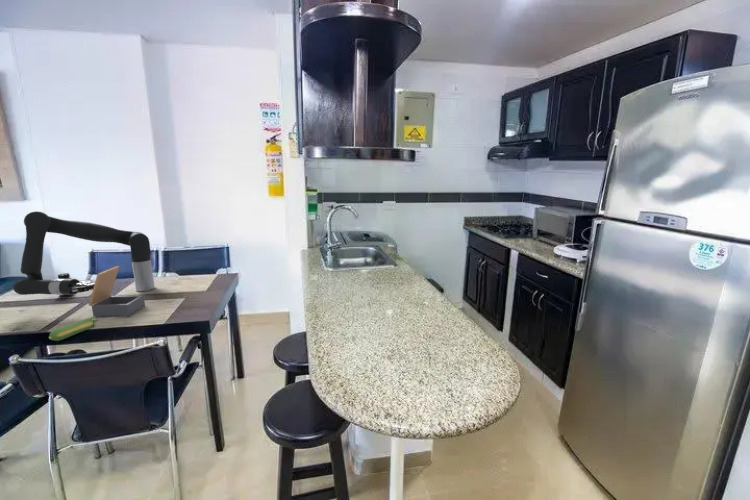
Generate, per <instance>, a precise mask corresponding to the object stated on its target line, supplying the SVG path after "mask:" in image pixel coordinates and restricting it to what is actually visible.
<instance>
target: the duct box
mask: <svg viewBox="0 0 750 500" xmlns="http://www.w3.org/2000/svg"><path fill="white" fill-rule="evenodd" d="M144 308H146V303H145V296H144V295H143V294H142V295H111V296H109V297H107V298H105V299H103V300H101V301H99V302H98V303H96V304H94V305H92V306H91V309H92V310H91V311H92V315H93V316H96V317H95V318H94V319H97V318H98V319H101V318H102V319H104V318H105V319H106V318H107V319H108V318H130V317H132V316H133V315H135V314H136V313H138V312H139V311H141V310H142V309H144ZM93 316H92V317H93Z"/></svg>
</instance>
